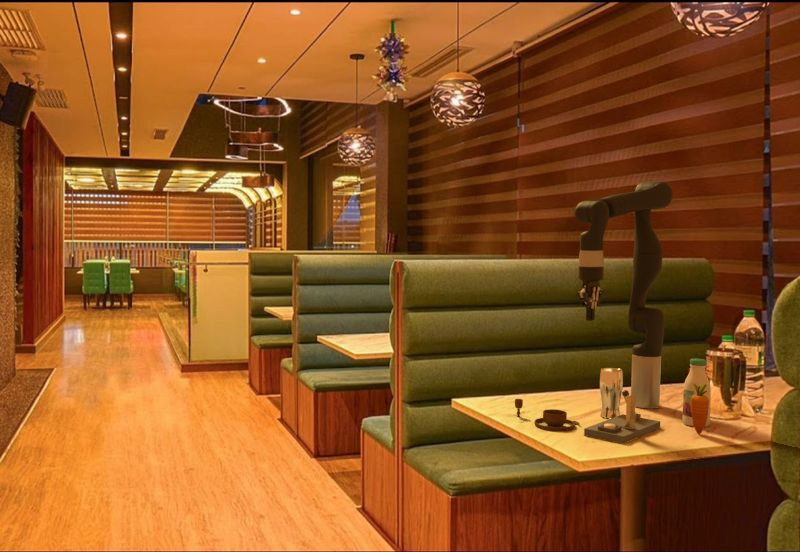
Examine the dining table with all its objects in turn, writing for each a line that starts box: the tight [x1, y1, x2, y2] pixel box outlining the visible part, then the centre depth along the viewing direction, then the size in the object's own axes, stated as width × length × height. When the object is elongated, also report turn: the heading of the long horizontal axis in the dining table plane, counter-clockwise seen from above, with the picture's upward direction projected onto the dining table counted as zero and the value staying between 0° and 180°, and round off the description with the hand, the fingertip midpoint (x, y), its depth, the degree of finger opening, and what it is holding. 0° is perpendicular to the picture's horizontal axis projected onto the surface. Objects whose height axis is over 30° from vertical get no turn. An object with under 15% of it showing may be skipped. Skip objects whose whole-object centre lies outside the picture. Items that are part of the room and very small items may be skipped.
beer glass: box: [599, 367, 624, 419], centre depth 232 cm, size 7×7×15 cm
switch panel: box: [583, 412, 661, 445], centre depth 215 cm, size 24×12×4 cm, turn 137°
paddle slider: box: [624, 395, 636, 429], centre depth 210 cm, size 3×2×9 cm
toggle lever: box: [621, 389, 637, 416], centre depth 222 cm, size 2×2×9 cm
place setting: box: [514, 398, 582, 432], centre depth 224 cm, size 18×20×6 cm
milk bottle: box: [682, 357, 712, 428], centre depth 224 cm, size 8×8×20 cm
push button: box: [604, 423, 616, 429], centre depth 209 cm, size 3×3×1 cm
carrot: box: [691, 383, 709, 435], centre depth 213 cm, size 5×5×15 cm
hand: (590, 320), depth 231 cm, fingers closed
